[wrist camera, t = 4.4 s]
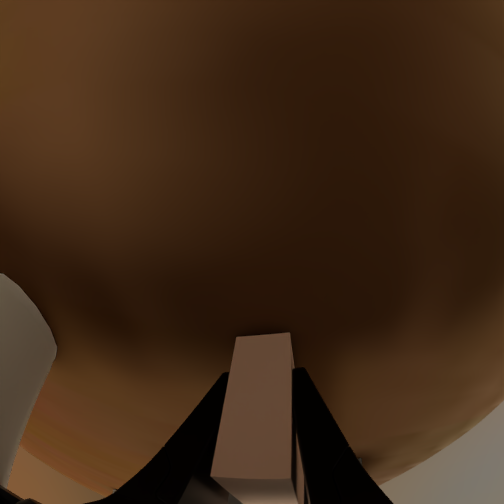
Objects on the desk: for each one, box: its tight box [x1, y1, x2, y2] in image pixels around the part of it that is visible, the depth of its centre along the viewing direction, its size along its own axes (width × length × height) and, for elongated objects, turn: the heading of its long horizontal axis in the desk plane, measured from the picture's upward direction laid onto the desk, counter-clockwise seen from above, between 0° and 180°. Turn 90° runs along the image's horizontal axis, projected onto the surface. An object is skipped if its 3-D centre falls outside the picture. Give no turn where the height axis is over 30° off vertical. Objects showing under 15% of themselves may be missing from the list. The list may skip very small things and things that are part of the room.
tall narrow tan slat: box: [210, 332, 304, 504], centre depth 9 cm, size 10×2×5 cm, turn 10°
